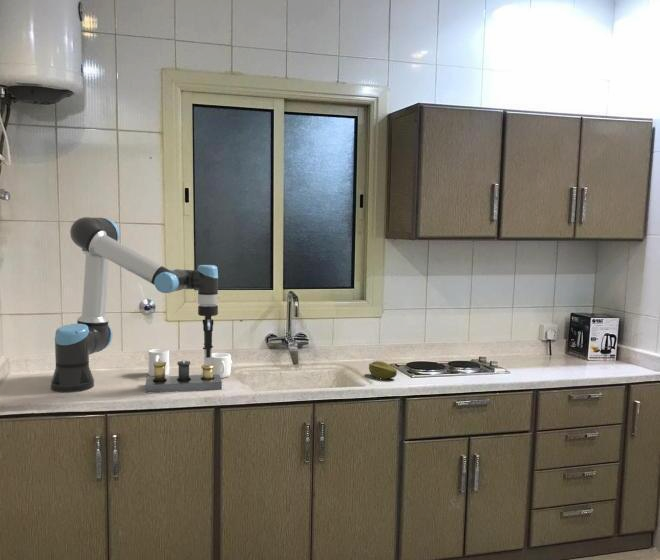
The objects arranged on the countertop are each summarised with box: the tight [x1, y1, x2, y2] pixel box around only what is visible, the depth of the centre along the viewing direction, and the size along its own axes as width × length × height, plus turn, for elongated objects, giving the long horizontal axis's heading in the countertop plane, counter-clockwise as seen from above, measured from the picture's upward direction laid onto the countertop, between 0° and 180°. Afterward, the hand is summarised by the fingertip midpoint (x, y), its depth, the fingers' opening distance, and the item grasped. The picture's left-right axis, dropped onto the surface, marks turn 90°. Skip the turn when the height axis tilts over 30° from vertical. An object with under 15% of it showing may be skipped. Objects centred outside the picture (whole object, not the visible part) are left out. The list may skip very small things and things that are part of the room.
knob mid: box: [177, 359, 191, 381], centre depth 231 cm, size 5×5×7 cm
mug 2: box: [212, 352, 233, 379], centre depth 248 cm, size 12×10×9 cm
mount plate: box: [144, 374, 223, 394], centre depth 231 cm, size 28×12×3 cm, turn 105°
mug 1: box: [148, 348, 170, 377], centre depth 247 cm, size 12×8×10 cm
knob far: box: [200, 364, 214, 380], centre depth 233 cm, size 5×5×7 cm
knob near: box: [153, 362, 166, 382], centre depth 228 cm, size 5×5×7 cm
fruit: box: [368, 360, 397, 380], centre depth 254 cm, size 11×12×7 cm
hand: (208, 365), depth 233 cm, fingers closed
